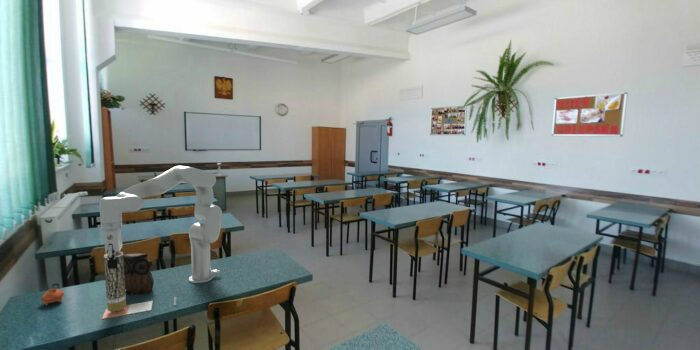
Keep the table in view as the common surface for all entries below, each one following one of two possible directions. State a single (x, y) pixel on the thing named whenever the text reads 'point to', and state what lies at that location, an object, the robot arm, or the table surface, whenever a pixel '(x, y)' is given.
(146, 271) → the brown owl figurine
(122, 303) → the birch log
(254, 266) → the table surface
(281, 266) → the table surface
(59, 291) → the pot
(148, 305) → the board
